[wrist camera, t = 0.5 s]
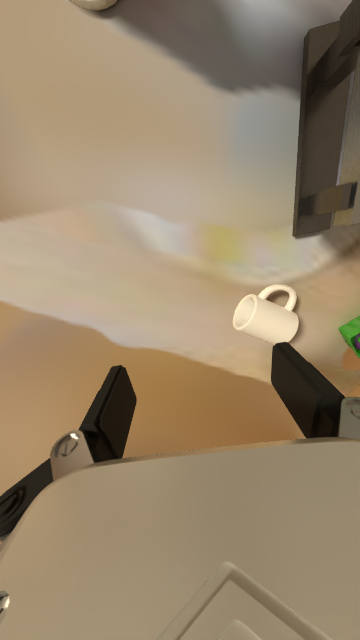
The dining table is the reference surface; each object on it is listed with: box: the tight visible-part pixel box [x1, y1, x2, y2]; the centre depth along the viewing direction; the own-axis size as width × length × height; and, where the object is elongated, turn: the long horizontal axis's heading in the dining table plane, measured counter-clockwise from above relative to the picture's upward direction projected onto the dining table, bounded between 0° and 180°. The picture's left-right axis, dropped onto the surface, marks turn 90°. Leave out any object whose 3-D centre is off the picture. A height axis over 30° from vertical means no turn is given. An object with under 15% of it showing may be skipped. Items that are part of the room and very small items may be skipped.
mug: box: [233, 284, 299, 345], centre depth 38 cm, size 12×10×8 cm
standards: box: [293, 0, 360, 236], centre depth 25 cm, size 25×6×11 cm, turn 11°
